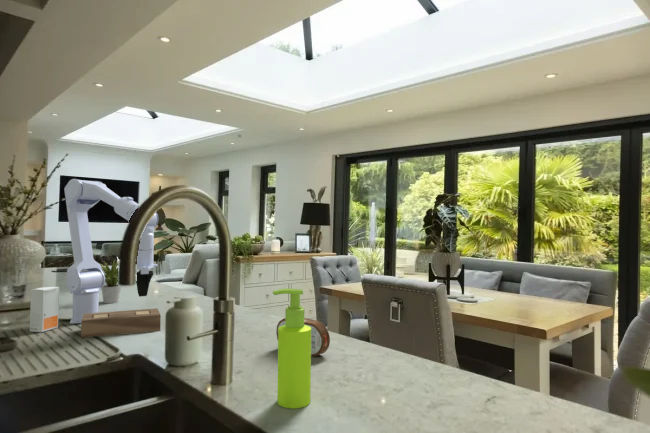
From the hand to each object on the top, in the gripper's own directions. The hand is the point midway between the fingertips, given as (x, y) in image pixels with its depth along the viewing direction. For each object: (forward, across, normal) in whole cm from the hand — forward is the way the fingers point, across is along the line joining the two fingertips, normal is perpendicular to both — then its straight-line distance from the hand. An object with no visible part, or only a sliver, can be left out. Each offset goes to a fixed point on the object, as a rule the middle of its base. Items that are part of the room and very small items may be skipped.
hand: (142, 296), depth 130 cm
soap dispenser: (+10, -67, -21) cm, 71 cm away
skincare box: (+10, +9, +26) cm, 29 cm away
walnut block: (+9, 0, +6) cm, 11 cm away
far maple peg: (+9, 0, 0) cm, 9 cm away
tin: (+10, -41, -34) cm, 54 cm away
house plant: (+10, +49, +8) cm, 51 cm away
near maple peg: (+9, 0, +11) cm, 14 cm away
